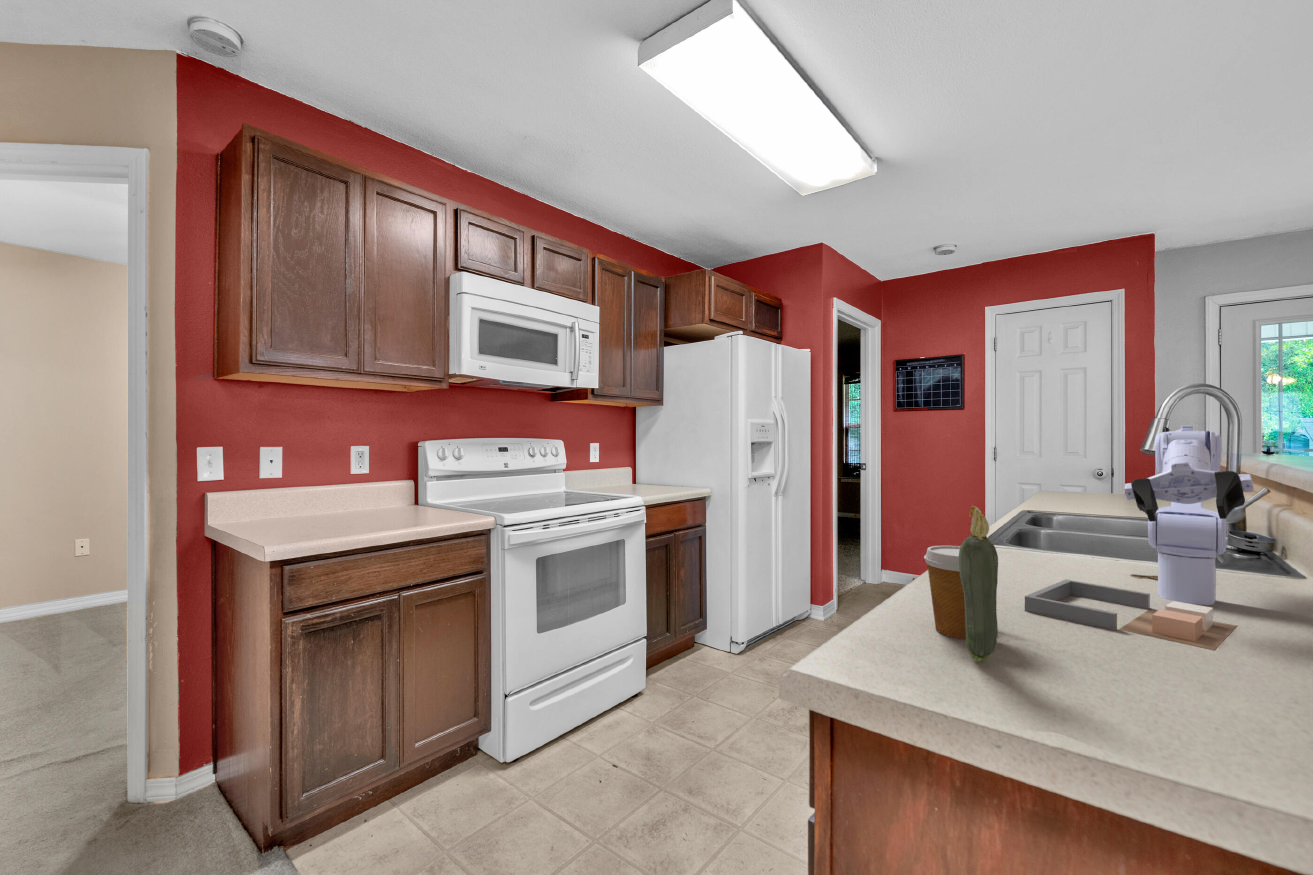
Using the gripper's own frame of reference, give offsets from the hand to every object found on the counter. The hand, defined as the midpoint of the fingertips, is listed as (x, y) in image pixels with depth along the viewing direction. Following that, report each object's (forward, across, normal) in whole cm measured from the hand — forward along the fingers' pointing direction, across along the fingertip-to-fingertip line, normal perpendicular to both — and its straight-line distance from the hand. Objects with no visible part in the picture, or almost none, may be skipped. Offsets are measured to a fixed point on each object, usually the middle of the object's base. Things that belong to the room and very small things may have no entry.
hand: (1184, 514), depth 83 cm
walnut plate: (+7, -4, +16) cm, 18 cm away
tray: (+6, -14, +15) cm, 21 cm away
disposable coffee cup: (+26, -25, +4) cm, 37 cm away
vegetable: (+36, -20, 0) cm, 41 cm away
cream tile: (+4, -2, +16) cm, 17 cm away
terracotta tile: (+10, -3, +13) cm, 17 cm away
